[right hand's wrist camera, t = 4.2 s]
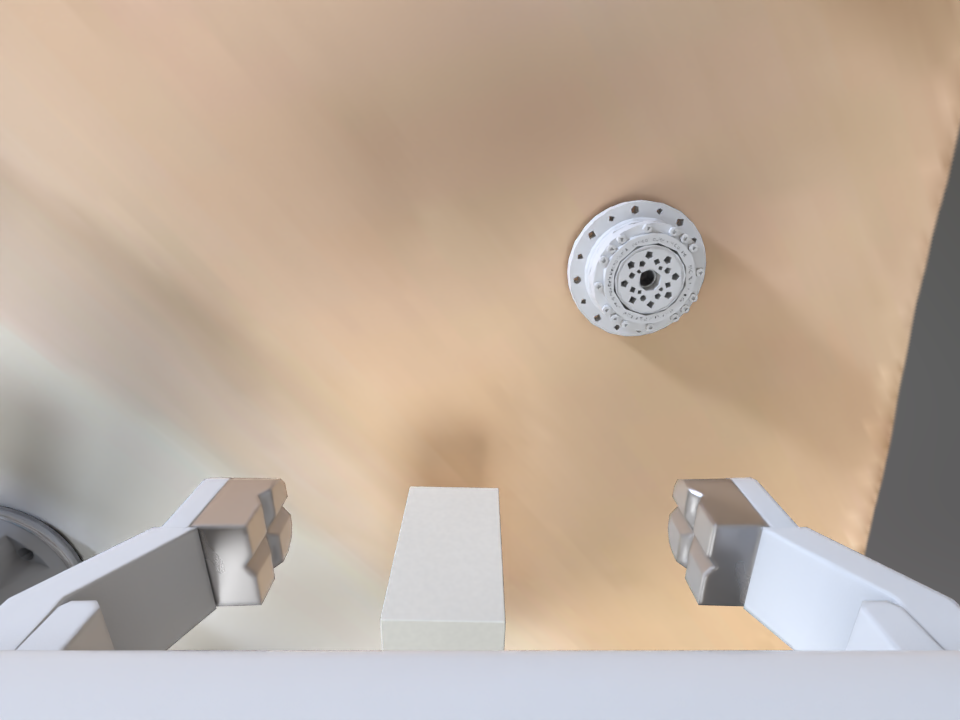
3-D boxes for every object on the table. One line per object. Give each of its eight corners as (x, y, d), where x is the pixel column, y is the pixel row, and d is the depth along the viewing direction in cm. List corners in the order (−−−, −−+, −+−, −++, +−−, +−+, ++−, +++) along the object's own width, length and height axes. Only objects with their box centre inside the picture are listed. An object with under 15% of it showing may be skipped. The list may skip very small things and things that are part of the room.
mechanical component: (539, 281, 39) (635, 354, 41) (546, 294, 35) (652, 375, 37) (628, 170, 36) (726, 255, 38) (647, 170, 32) (755, 265, 34)
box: (409, 486, 37) (379, 619, 26) (498, 487, 37) (505, 622, 26) (417, 716, 45) (397, 889, 35) (489, 717, 45) (492, 890, 35)
